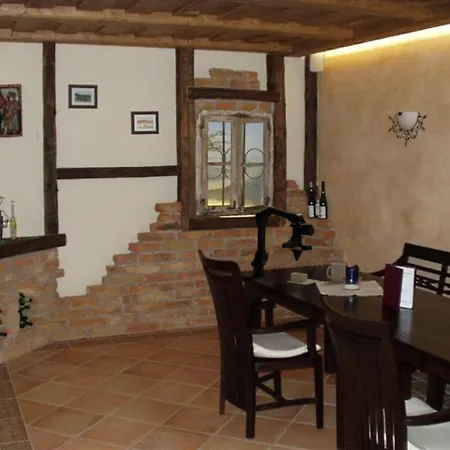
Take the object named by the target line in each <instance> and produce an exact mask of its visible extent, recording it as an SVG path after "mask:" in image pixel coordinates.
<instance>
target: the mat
mask: <svg viewBox="0 0 450 450" xmlns="http://www.w3.org/2000/svg"><path fill="white" fill-rule="evenodd" d="M316 281H319V280H316V279H310V278H307V281H305V282H300V281H293V280H291V279H290V280H288V281H286V283H291V284H298V285H304V286H307V285H311V284H315V282H316ZM316 283H317V282H316Z"/></svg>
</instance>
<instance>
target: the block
mask: <svg viewBox="0 0 450 450" xmlns="http://www.w3.org/2000/svg"><path fill="white" fill-rule="evenodd" d="M307 279H308V273H303V272H292V273H290V281H291V280H293V281H300V282H305V281H307Z"/></svg>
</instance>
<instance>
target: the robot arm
mask: <svg viewBox="0 0 450 450" xmlns="http://www.w3.org/2000/svg"><path fill="white" fill-rule="evenodd" d="M273 215H275V216H278V217H280V218H284V219H286V220H288V222H290V224H289V225H288V227H289V228H291V236H290V239H289V240H287V241H286V242H283V243H282V244H281V248H282V249H289V251H291V252H292V254H293V257H294V260H295V261H296V262H297V261H299V259H300V257H301V255H302V253H303V251H305V252H308V251H313V246H312V244H304V243H303V242H302V241H303V240H302V239H303V238H304V236H308V237H312V236H314V235H315V228H314V226H313V224H311V223H307V221H306V219H305V218H304V215H303V214H302V213H300V212H291V211H288V210H285V209H281V208H279V207H276V206H273V205H272V206H271V205H270V206H268V207H267V208H265V209H264V210H261V211H258V212H256V213H255V215H254V219H255V224H256V226H257V235H256V237H257V244H256V245H257V247H256V251H255V253H254V257H253V260H252V261H251V262H250V266H251V267H252V274H251V275H252V277H256V278H257V277H258V278H260V277H265V276H266V274H265V266H266V264H267V262H268V260H269V255H270V254H269V251H268V252H267V250H266V234H267V233H266V229H267V225H268V222H269V219H270V217H271V216H273Z"/></svg>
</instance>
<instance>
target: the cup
mask: <svg viewBox="0 0 450 450" xmlns="http://www.w3.org/2000/svg"><path fill="white" fill-rule="evenodd" d="M330 265H331V266H330ZM330 265H329V266H328V267H327V268H326V276H327V278H328V279H330V280H331V281H332V282H334V281H336V282H335V283H342V282H341V281H342V278H343V277H345V278H346V263H345V262H331V264H330ZM329 270H330V271H331V272H330V271H329ZM329 272H330V273H331V274H329ZM330 275H331V276H330Z"/></svg>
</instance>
